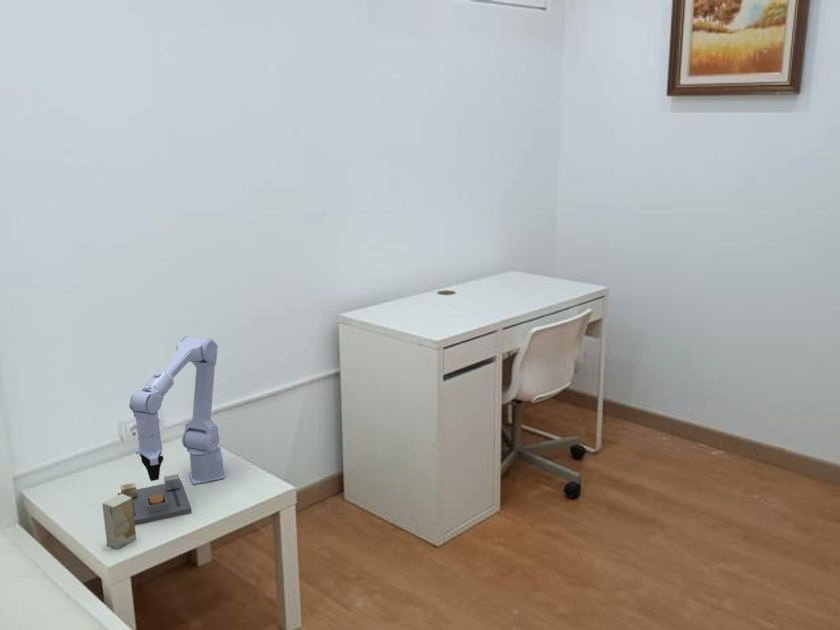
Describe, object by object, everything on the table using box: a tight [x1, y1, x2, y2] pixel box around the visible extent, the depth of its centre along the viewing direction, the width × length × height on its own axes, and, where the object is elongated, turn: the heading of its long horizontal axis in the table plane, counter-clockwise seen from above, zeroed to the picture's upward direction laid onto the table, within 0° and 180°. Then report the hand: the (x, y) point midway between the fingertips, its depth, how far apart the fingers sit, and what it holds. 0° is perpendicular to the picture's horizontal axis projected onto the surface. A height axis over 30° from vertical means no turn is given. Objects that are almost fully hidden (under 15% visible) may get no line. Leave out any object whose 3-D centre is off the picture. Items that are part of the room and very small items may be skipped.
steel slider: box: [163, 473, 181, 490], centre depth 229 cm, size 4×3×3 cm
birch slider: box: [120, 482, 138, 498], centre depth 225 cm, size 4×3×3 cm
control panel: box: [117, 480, 193, 526], centre depth 223 cm, size 18×18×4 cm
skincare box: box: [102, 494, 137, 550], centre depth 204 cm, size 6×4×12 cm
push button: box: [150, 494, 164, 505], centre depth 219 cm, size 4×4×2 cm
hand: (154, 478), depth 217 cm, fingers closed
